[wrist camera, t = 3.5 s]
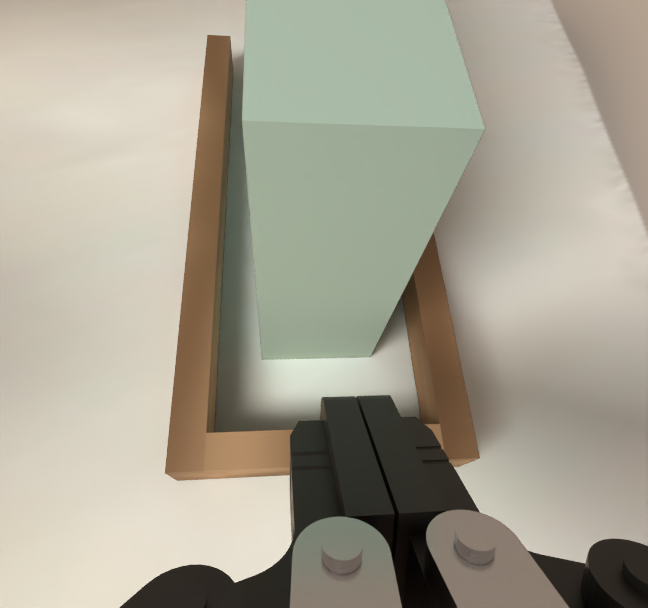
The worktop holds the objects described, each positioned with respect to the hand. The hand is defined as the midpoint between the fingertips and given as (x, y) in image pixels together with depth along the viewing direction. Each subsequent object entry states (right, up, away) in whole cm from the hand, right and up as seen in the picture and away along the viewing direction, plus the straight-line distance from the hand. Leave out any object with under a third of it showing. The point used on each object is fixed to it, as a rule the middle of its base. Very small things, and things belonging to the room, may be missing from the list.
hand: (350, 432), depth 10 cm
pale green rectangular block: (-1, +9, +13) cm, 16 cm away
